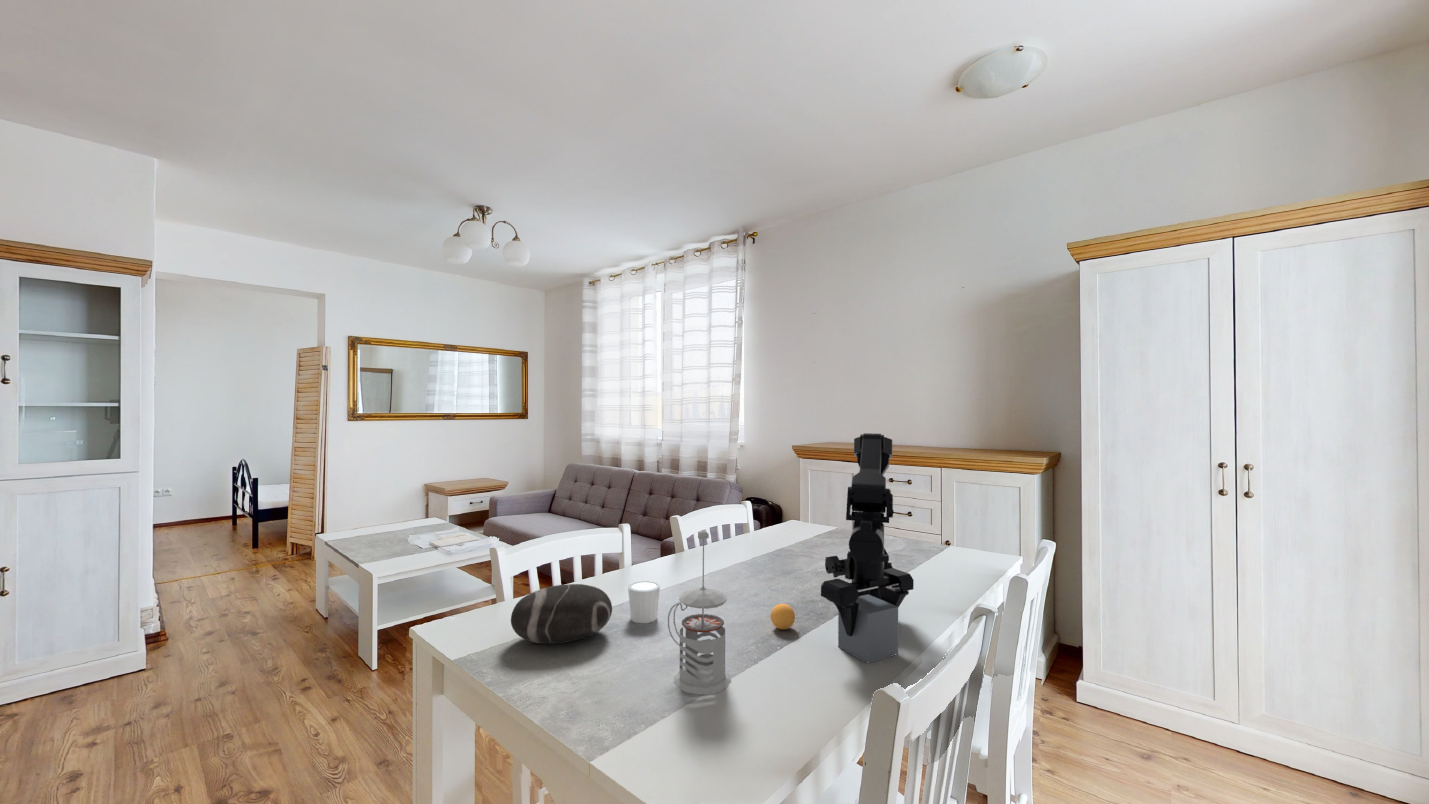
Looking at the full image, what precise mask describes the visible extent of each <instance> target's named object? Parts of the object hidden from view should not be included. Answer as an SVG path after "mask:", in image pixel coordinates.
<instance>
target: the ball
mask: <svg viewBox="0 0 1429 804" xmlns="http://www.w3.org/2000/svg"><path fill="white" fill-rule="evenodd" d="M770 620H771V623H772V624H773V626H774V627H775V628H777V629H779V630H789V629H790V628H791V627H792V626H794V623H795V621H796V615H795V611H794V609H793V607H791V606H790V605H789V604H786V603H779V604H776V605H775V606H774V607H773V608H772V609H771V612H770Z"/></svg>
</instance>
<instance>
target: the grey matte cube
mask: <svg viewBox="0 0 1429 804" xmlns="http://www.w3.org/2000/svg"><path fill="white" fill-rule="evenodd" d="M856 602H857V603H859V607H858V612H857V617H856V623H855V628H854V632H853V635H852V636H848V635H847V634H846V631H845V628H844V625H843V622H842V619H841V616H840V613H839V611H838V610H837V611H838V619H837V620H838V622H837V623H838V626H837V627H838V629H837V634H838V635H837V639H838V641H837V642H838V643H837V645H838V646H837V647H838V648H840V650H843V651H844V652H847V653H849V654H850V655H852V656H854V657H855V658H857V659H860V660H861V661H863V662H864V663H866V664H870V663H873V662H877V661H881V660H883V658H884V659H886V657H887V658H890V657H893V656H892V655H894V656H896V655H895V654H897V655H899V607H897V606H895V605H893V604H890V603H888V602H885V601H883V600H881V599H878V598H876V597H873V596H871V595H863V596H859V597H858V599H857V600H856ZM889 656H890V657H889Z"/></svg>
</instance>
